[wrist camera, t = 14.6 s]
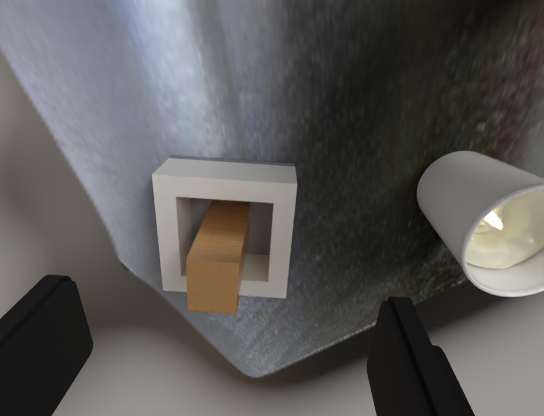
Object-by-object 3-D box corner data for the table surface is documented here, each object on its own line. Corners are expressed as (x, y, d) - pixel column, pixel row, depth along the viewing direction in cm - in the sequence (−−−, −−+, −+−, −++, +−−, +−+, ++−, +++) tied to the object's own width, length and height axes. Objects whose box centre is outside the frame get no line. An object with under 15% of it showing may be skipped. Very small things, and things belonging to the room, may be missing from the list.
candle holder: (416, 143, 34) (479, 187, 23) (514, 141, 34) (624, 184, 23) (402, 227, 38) (451, 298, 28) (489, 226, 38) (573, 297, 27)
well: (294, 163, 35) (297, 184, 30) (284, 265, 41) (285, 298, 36) (171, 155, 35) (151, 174, 30) (178, 258, 41) (163, 290, 35)
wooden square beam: (251, 199, 36) (239, 263, 25) (248, 239, 38) (236, 314, 27) (214, 196, 36) (186, 259, 25) (213, 236, 38) (187, 310, 27)
